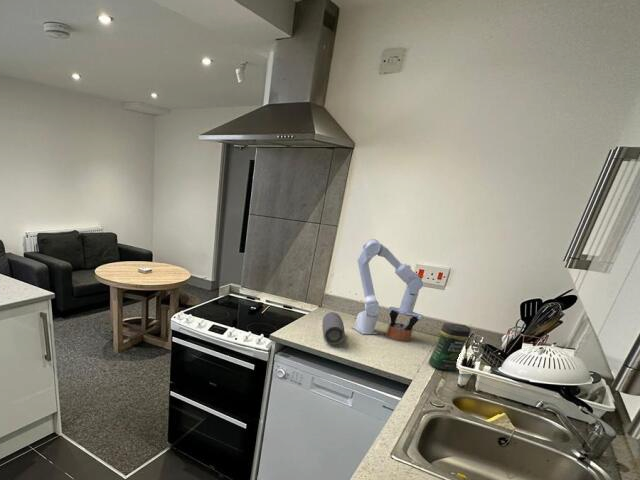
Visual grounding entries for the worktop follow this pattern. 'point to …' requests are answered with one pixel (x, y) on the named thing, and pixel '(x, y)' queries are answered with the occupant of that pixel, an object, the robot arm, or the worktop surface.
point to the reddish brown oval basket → (399, 333)
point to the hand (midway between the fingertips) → (400, 329)
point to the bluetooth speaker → (333, 328)
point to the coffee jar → (449, 346)
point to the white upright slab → (401, 327)
